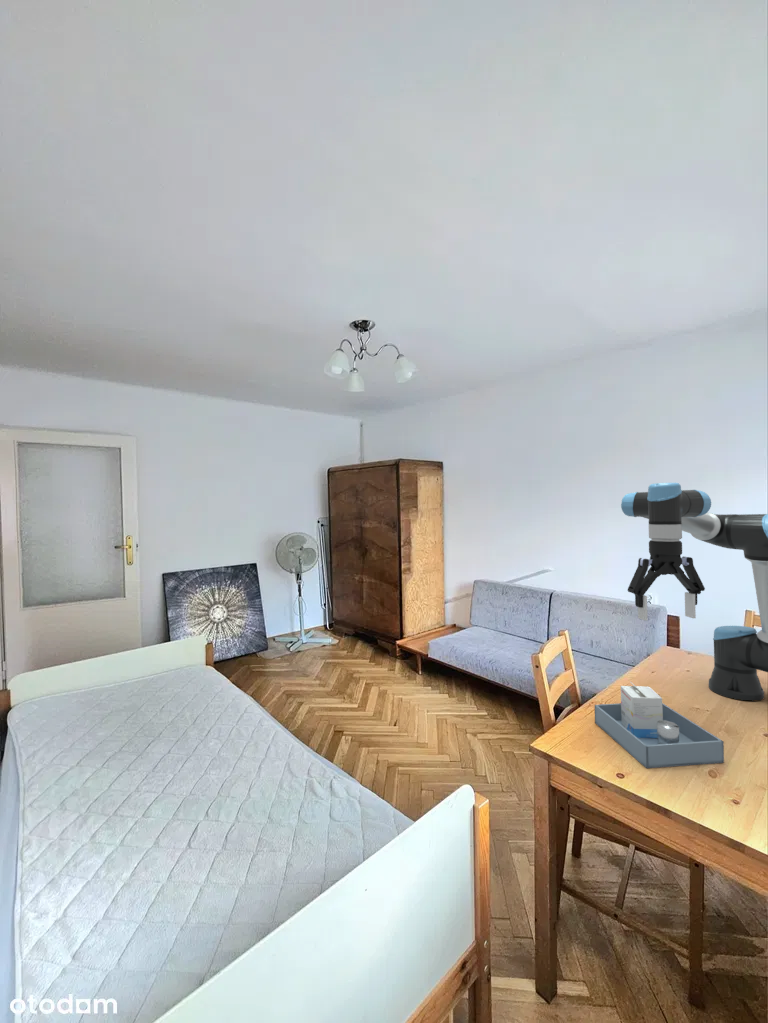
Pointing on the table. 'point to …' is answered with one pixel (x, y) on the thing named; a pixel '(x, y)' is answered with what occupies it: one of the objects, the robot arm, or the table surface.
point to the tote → (689, 751)
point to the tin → (667, 732)
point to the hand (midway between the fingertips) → (666, 618)
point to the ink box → (641, 710)
